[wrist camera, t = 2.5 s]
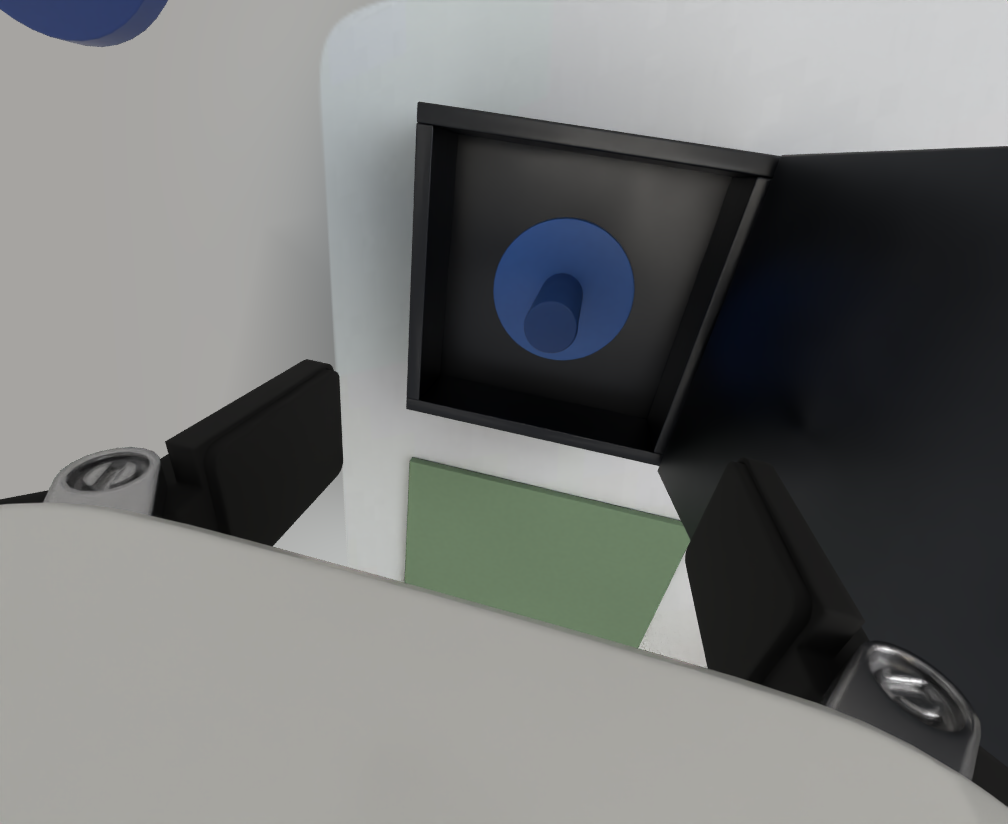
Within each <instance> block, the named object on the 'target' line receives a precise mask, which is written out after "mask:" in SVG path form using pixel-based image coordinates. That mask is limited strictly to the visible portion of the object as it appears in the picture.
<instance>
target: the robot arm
mask: <svg viewBox="0 0 1008 824" xmlns="http://www.w3.org/2000/svg"><path fill="white" fill-rule="evenodd" d="M165 442H166V446H167V449H168V453H169V454H168V455H166V456H164V457H163V458H161V459H160V458H159V456H158V455H157V454H156V453H155V452H153V451H150V450H147V449H144V448H135V447H127V448H115V449H110V450H105V451H100V452H97V453H94V454H90V455H87V456H85V457H82V458H80V459H78V460H76V461H74V462H72V463H70V464H69V465H68V466H66V467H65V468H63V469H62V470H61V471H60V472H59V473H58V474H57V476H56V477H55V478H54V480H53V482H52V485H51V487H50V489H49V490H48V491H43V492H38V493H32V494H27V495H21V496H16V497H11V498H6V499H0V824H1008V767H1007V766H1006V765H1004V764H1003V763H1002V762H1000V761H999V760H998V759H996V758H995V757H994V756H993V755H991V754H990V753H989V752H987V751H986V750H985V749H984V748H982V747H981V746H980V745H979V743H980V738H981V727H980V721H979V719H978V717H977V714H976V712H975V710H974V708H973V706H972V705H971V704H970V702H969V701H968V700H967V698H966V697H965V696H964V695H963V693H962V692H961V691H960V689H959V688H958V687H957V686H956V685H954V684H953V683H952V682H951V681H950V680H949V679H948V678H947V677H946V676H945V675H944V674H943V673H942V672H940V671H939V670H938V669H936V668H935V667H934V666H933V665H931V664H930V663H929V662H927V661H926V660H924V659H923V658H921V657H919V656H917V655H916V654H914V653H912V652H911V651H909V650H907V649H905V648H902V647H900V646H897V645H895V644H892V643H889V642H884V641H879V640H873V641H869V639H868V637H867V635H866V634H865V632H864V630H863V628H862V627H861V626H862V625H863V624H864V623H865V620H864V618H863V617H862V615H861V613H860V612H859V610H858V608H857V607H856V605H855V603H854V602H853V600H852V598H851V597H850V595H849V593H848V591H847V590H846V588H845V586H844V585H843V583H842V581H841V580H840V578H839V576H838V575H837V573H836V571H835V570H834V568H833V566H832V565H831V563H830V561H829V560H828V558H827V556H826V554H825V553H824V551H823V549H822V548H821V546H820V544H819V543H818V541H817V539H816V538H815V536H814V534H813V533H812V531H811V529H810V528H809V526H808V524H807V522H806V521H805V519H804V517H803V516H802V514H801V512H800V511H799V509H798V507H797V506H796V504H795V502H794V501H793V499H792V497H791V496H790V494H789V492H788V491H787V489H786V487H785V485H784V484H783V482H782V480H781V479H780V477H779V475H778V474H777V472H776V470H775V469H774V467H773V466H772V464H771V463H767V462H762V461H758V460H753V459H749V458H745V457H742V458H740V459H739V460H738V461H737V462H733V461H731V462H729V463H728V465H727V466H726V468H725V470H724V472H723V474H722V476H721V478H720V481H719V483H718V485H717V487H716V489H715V491H714V493H713V495H712V497H711V499H710V501H709V503H708V505H707V507H706V509H705V512H704V514H703V516H702V518H701V520H700V522H699V524H698V526H697V528H696V530H695V532H694V534H693V536H692V538H691V541H690V543H689V545H688V547H687V550H686V555H685V563H686V568H687V573H688V578H689V582H690V587H691V592H692V596H693V601H694V606H695V611H696V615H697V620H698V625H699V629H700V634H701V639H702V644H703V648H704V653H705V658H706V662H707V667H708V669H707V668H703V667H700V666H697V665H693V664H690V663H687V662H683V661H680V660H677V659H673V658H670V657H667V656H663V655H660V654H656V653H653V652H649V651H645V650H642V649H638V648H635V647H631V646H628V645H624V644H621V643H617V642H614V641H610V640H607V639H603V638H600V637H596V636H593V635H589V634H586V633H582V632H579V631H575V630H572V629H568V628H565V627H561V626H557V625H554V624H550V623H547V622H543V621H540V620H536V619H533V618H529V617H526V616H522V615H519V614H515V613H511V612H508V611H504V610H501V609H497V608H494V607H490V606H486V605H483V604H479V603H476V602H472V601H468V600H465V599H461V598H458V597H454V596H451V595H447V594H443V593H440V592H436V591H433V590H429V589H425V588H422V587H418V586H414V585H411V584H407V583H404V582H400V581H396V580H393V579H389V578H386V577H382V576H378V575H375V574H371V573H368V572H364V571H360V570H356V569H353V568H349V567H345V566H341V565H338V564H334V563H331V562H327V561H323V560H320V559H316V558H312V557H309V556H305V555H301V554H298V553H294V552H290V551H287V550H283V549H279V548H276V547H272V546H273V545H274V544H275V543H276V542H277V541H278V540H279V539H280V538H281V537H282V536H283V534H284V533H285V532H286V531H287V530H288V529H289V528H290V527H291V526H292V525H293V524H294V522H295V521H296V520H297V519H298V518H299V517H300V516H301V515H302V514H303V513H304V511H305V510H306V509H307V508H308V507H309V506H310V505H311V504H312V503H313V502H314V501H315V500H316V498H317V497H318V496H319V495H320V494H321V493H322V492H323V491H324V490H325V489H326V488H327V486H328V485H329V484H330V483H331V482H332V481H333V480H334V479H335V478H336V477H337V475H338V474H339V472H340V471H341V468H342V465H343V447H342V425H341V403H340V382H339V375H338V373H337V372H336V371H334V370H333V367H332V366H331V365H330V364H326V363H322V362H317V361H313V360H308V359H306V360H304V361H302V362H300V363H298V364H297V365H295V366H293V367H291V368H290V369H288V370H286V371H285V372H283V373H281V374H280V375H278V376H276V377H274V378H273V379H271V380H269V381H268V382H266V383H264V384H263V385H261V386H259V387H257V388H256V389H254V390H252V391H251V392H249V393H247V394H246V395H244V396H242V397H241V398H239V399H237V400H235V401H234V402H232V403H230V404H228V405H227V406H225V407H223V408H222V409H220V410H218V411H217V412H215V413H213V414H211V415H210V416H208V417H206V418H205V419H203V420H201V421H200V422H198V423H196V424H194V425H193V426H191V427H189V428H188V429H186V430H184V431H183V432H181V433H179V434H177V435H176V436H174V437H172V438H171V439H169V440H167V441H165Z"/></svg>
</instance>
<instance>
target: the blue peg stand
mask: <svg viewBox="0 0 1008 824" xmlns="http://www.w3.org/2000/svg"><path fill="white" fill-rule="evenodd" d="M634 290H635V288H634V276H633V271H632V268H631V265H630V262H629V259H628V257H627V255H626V253H625V251H624V249H623V248H622V246H621V245H620V243H619V242H618V241H617V240H616V239H615V238H614V237H613V236H612V235H611V234H610V233H609V232H608V231H606V230H605V229H604V228H602V227H600V226H598V225H597V224H595V223H592V222H590V221H587V220H583V219H579V218H571V217H562V218H554V219H549V220H546V221H543V222H540V223H538V224H536V225H534V226H532V227H530V228H529V229H527V230H526V231H524V232H523V233H521V234H520V235H519V236H518V237H517V238H516V239H515V240H514V241H513V242H512V243H511V244H510V245H509V246H508V248H507V249H506V251H505V252H504V254H503V255H502V258H501V260H500V262H499V264H498V267H497V270H496V273H495V278H494V288H493V294H494V303H495V308H496V311H497V314H498V317H499V319H500V321H501V324H502V325H503V327H504V329H505V330H506V332H507V333H508V334H509V335H510V337H511V338H512V339H513V340H514V341H515V342H516V343H517V344H518V345H520V346H521V347H522V348H524V349H525V350H527V351H529V352H531V353H532V354H535V355H537V356H540V357H543V358H547V359H553V360H573V359H578V358H582V357H585V356H588V355H591V354H593V353H595V352H597V351H599V350H600V349H602V348H603V347H605V346H606V345H607V344H608V343H609V342H611V341H612V340H613V339H614V338H615V337H616V335H617V334H618V333H619V332H620V330H621V329H622V328H623V326H624V325H625V323H626V321H627V319H628V317H629V314H630V311H631V308H632V304H633V300H634Z"/></svg>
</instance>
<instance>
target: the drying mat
mask: <svg viewBox="0 0 1008 824" xmlns="http://www.w3.org/2000/svg"><path fill="white" fill-rule="evenodd" d="M689 542H690V539H689V537H688V534H687V532H686V530H685V528H684V526H683V524H682V522H681V521H678V520H674V519H670V518H666V517H661V516H657V515H653V514H649V513H645V512H640V511H636V510H632V509H628V508H624V507H619V506H615V505H611V504H607V503H603V502H598V501H594V500H590V499H586V498H582V497H577V496H573V495H569V494H565V493H560V492H556V491H552V490H548V489H544V488H539V487H535V486H531V485H527V484H523V483H518V482H514V481H510V480H506V479H502V478H497V477H493V476H489V475H485V474H481V473H476V472H472V471H468V470H464V469H460V468H455V467H451V466H447V465H443V464H439V463H434V462H430V461H426V460H422V459H417V458H413V457H412V459H411V460H410V467H409V490H408V513H407V536H406V560H405V583H407V584H411V585H414V586H418V587H422V588H425V589H429V590H433V591H436V592H440V593H443V594H447V595H451V596H454V597H458V598H461V599H465V600H468V601H472V602H476V603H479V604H483V605H486V606H490V607H494V608H497V609H501V610H504V611H508V612H511V613H515V614H519V615H522V616H526V617H529V618H533V619H536V620H540V621H543V622H547V623H550V624H554V625H557V626H561V627H565V628H568V629H572V630H575V631H579V632H582V633H586V634H589V635H593V636H596V637H600V638H603V639H607V640H610V641H614V642H617V643H621V644H624V645H628V646H631V647H635V648H638V647H639V645H640V643H641V641H642V639H643V637H644V635H645V633H646V631H647V629H648V627H649V625H650V622H651V620H652V618H653V616H654V614H655V612H656V610H657V608H658V606H659V604H660V602H661V600H662V598H663V596H664V594H665V592H666V590H667V588H668V585H669V583H670V581H671V579H672V577H673V575H674V573H675V571H676V569H677V567H678V565H679V563H680V561H681V559H682V557H683V555H684V553H685V551H686V549H687V546H688V544H689Z"/></svg>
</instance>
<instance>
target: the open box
mask: <svg viewBox="0 0 1008 824" xmlns="http://www.w3.org/2000/svg"><path fill="white" fill-rule="evenodd" d="M417 122H418V123H417V125H416V153H415V181H414V209H413V237H412V265H411V293H410V321H409V349H408V376H407V404H406V409H409V410H414V411H418V412H423V413H427V414H432V415H436V416H440V417H445V418H449V419H454V420H458V421H462V422H467V423H471V424H476V425H480V426H485V427H489V428H493V429H498V430H502V431H507V432H511V433H515V434H520V435H524V436H529V437H533V438H538V439H542V440H546V441H551V442H555V443H560V444H564V445H569V446H573V447H577V448H582V449H586V450H591V451H595V452H599V453H604V454H608V455H613V456H617V457H622V458H626V459H630V460H635V461H639V462H644V463H648V464H652V465H657V466H660V463H661V461H662V458H663V456H664V453H665V451H666V448H667V446H668V443H669V441H670V438H671V435H672V433H673V430H674V428H675V425H676V423H677V420H678V418H679V415H680V413H681V410H682V407H683V405H684V402H685V400H686V397H687V395H688V392H689V390H690V387H691V385H692V382H693V379H694V377H695V374H696V372H697V369H698V367H699V364H700V362H701V359H702V357H703V354H704V351H705V349H706V346H707V344H708V341H709V339H710V336H711V334H712V331H713V329H714V326H715V323H716V321H717V318H718V316H719V313H720V311H721V308H722V306H723V303H724V301H725V298H726V295H727V293H728V290H729V288H730V285H731V283H732V280H733V278H734V275H735V273H736V270H737V267H738V265H739V262H740V260H741V257H742V255H743V252H744V250H745V247H746V245H747V242H748V239H749V237H750V234H751V232H752V229H753V227H754V224H755V222H756V219H757V217H758V214H759V211H760V209H761V206H762V204H763V201H764V199H765V196H766V194H767V191H768V189H769V186H770V183H771V181H772V178H773V176H774V173H775V171H776V168H777V166H778V163H779V161H780V158H781V156H776V155H769V154H763V153H756V152H749V151H743V150H736V149H730V148H723V147H716V146H710V145H703V144H697V143H690V142H683V141H677V140H670V139H663V138H657V137H650V136H644V135H637V134H630V133H624V132H617V131H611V130H604V129H597V128H591V127H584V126H578V125H571V124H564V123H558V122H551V121H544V120H538V119H531V118H525V117H518V116H511V115H505V114H498V113H492V112H485V111H478V110H472V109H465V108H458V107H452V106H445V105H439V104H432V103H425V102H418V107H417ZM562 217H571V218H579V219H583V220H587V221H590V222H592V223H595V224H597V225H598V226H600V227H602V228H604V229H605V230H606V231H608V232H609V233H610V234H611V235H612V236H613V237H614V238H615V239H616V240H617V241H618V242H619V243H620V245H621V246H622V248H623V249H624V251H625V253H626V255H627V257H628V259H629V262H630V265H631V268H632V271H633V276H634V288H635V290H634V300H633V304H632V308H631V311H630V314H629V317H628V319H627V321H626V323H625V325H624V326H623V328H622V329H621V330H620V332H619V333H618V334H617V335H616V337H615V338H614V339H613V340H612V341H611V342H609V343H608V344H607V345H606V346H605V347H603V348H602V349H600V350H599V351H597V352H595V353H593V354H591V355H588V356H585V357H582V358H578V359H573V360H553V359H547V358H543V357H540V356H537V355H535V354H532V353H531V352H529V351H527V350H525V349H524V348H522V347H521V346H520V345H518V344H517V343H516V342H515V341H514V340H513V339H512V338H511V337H510V335H509V334H508V333H507V332H506V330H505V329H504V327H503V325H502V324H501V321H500V319H499V317H498V314H497V311H496V308H495V303H494V294H493V288H494V278H495V273H496V270H497V267H498V264H499V262H500V260H501V258H502V255H503V254H504V252H505V251H506V249H507V248H508V246H509V245H510V244H511V243H512V242H513V241H514V240H515V239H516V238H517V237H518V236H519V235H520V234H521V233H523V232H524V231H526V230H527V229H529V228H530V227H532V226H534V225H536V224H538V223H540V222H543V221H546V220H549V219H554V218H562Z"/></svg>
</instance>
